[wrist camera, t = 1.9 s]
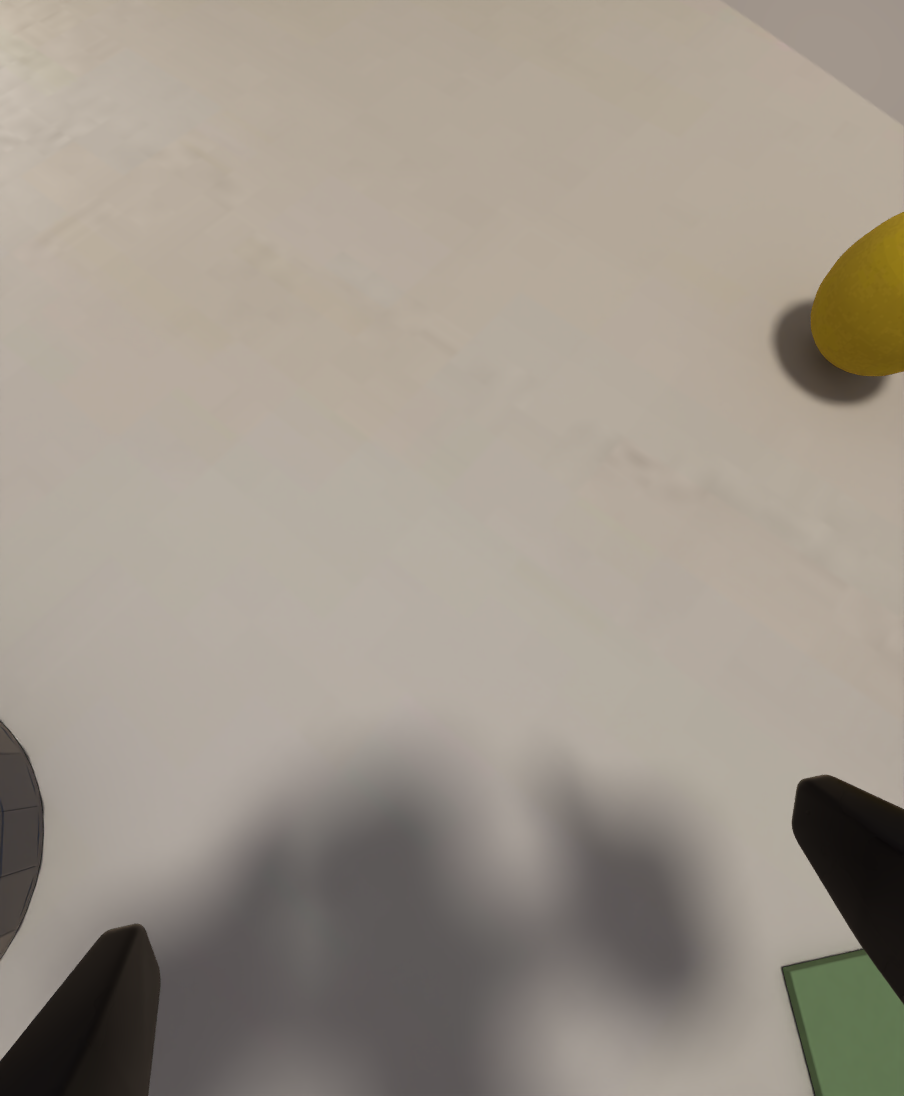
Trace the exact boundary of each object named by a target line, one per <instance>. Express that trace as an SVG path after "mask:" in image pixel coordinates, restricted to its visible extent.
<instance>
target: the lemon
mask: <svg viewBox="0 0 904 1096" xmlns="http://www.w3.org/2000/svg"><path fill="white" fill-rule="evenodd" d="M811 331H812V335H813V338H814V341H815V344H816V345H817V347H818V349H819V351H820V352H821V354H822V355H823V356H824V357H825V358H826V359H827V360H828V361H829V362H830V363H832V364H833V365H834V366H836V367H838V368H840V369H842V370H844V371H846V372H849V373H853V374H857V375H862V376H886V375H890V374H894V373H899V372H903V371H904V212H902V213H900V214H898V215H896V216H894V217H892V218H890V219H888V220H887V221H885V222H883V223H882V224H880V225H879V226H878V227H876V228H875V229H873V230H872V231H870V232H869V233H867V234H866V235H865V236H863V237H862V238H861V239H859V240H858V241H857V242H856V243H854V244H853V245H852V246H851V247H850V248H849V249H848V250H847V251H846V252H845V253H844V254H843V255H842V256H841V257H840V258H839V259H838V260H837V262H836V263H835V264H834V266H833V267H832V268H831V270H830V271H829V273H828V274H827V275H826V277H825V278H824V280H823V282H822V283H821V285H820V287H819V289H818V291H817V294H816V297H815V300H814V303H813V306H812V310H811Z"/></svg>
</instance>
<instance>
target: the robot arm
mask: <svg viewBox="0 0 904 1096" xmlns="http://www.w3.org/2000/svg"><path fill="white" fill-rule="evenodd" d="M792 829H793V833H794V836H795V838H796V840H797V842H798V844H799V845H800V847H801V849H802V850H803V852H804V854H805V855H806V857H807V858H808V860H809V862H810V863H811V865H812V867H813V868H814V870H815V872H816V873H817V875H818V877H819V878H820V880H821V882H822V883H823V885H824V886H825V888H826V890H827V891H828V893H829V895H830V896H831V898H832V900H833V901H834V903H835V905H836V906H837V908H838V910H839V911H840V913H841V914H842V916H843V918H844V919H845V921H846V923H847V924H848V926H849V928H850V929H851V931H852V932H853V934H854V935H855V937H856V938H857V940H858V942H859V943H860V945H861V946H862V948H863V949H864V950H865V952H866V953H867V955H868V956H869V958H870V959H871V960H872V962H873V963H874V965H875V966H876V967H877V969H878V970H879V972H880V973H881V974H882V976H883V977H884V978H885V980H886V981H887V982H888V984H889V985H890V987H891V988H892V989H893V991H894V992H895V993H896V995H897V996H898V998H899V999H900V1000H901V1002H902V1003H903V1004H904V809H902V808H900V807H898V806H896V805H894V804H892V803H889V802H887V801H885V800H883V799H881V798H879V797H876V796H874V795H872V794H870V793H868V792H866V791H864V790H861V789H859V788H857V787H855V786H853V785H851V784H848V783H846V782H844V781H842V780H840V779H838V778H836V777H833V776H830V775H820V776H815V777H810V778H806V779H803V780H801V781H800V782H799V784H798V785H797V790H796V796H795V803H794V809H793V816H792ZM160 980H161V979H160V970H159V966H158V963H157V960H156V957H155V954H154V952H153V949H152V946H151V944H150V941H149V938H148V935H147V933H146V930H145V928H144V927H143V926H142V925H140V924H132V925H128V926H123V927H118V928H114V929H110V930H108V931H106V932H105V933H104V934H103V935H101V936H100V938H99V939H98V940H97V941H96V943H95V944H94V945H93V946H92V947H91V949H90V950H89V951H88V952H87V954H86V955H85V956H84V957H83V959H82V960H81V961H80V962H79V964H78V965H77V966H76V967H75V969H74V970H73V971H72V972H71V974H70V975H69V976H68V977H67V979H66V980H65V981H64V982H63V984H62V985H61V986H60V987H59V989H58V990H57V991H56V992H55V994H54V995H53V996H52V997H51V999H50V1000H49V1001H48V1002H47V1004H46V1005H45V1006H44V1007H43V1009H42V1010H41V1011H40V1012H39V1014H38V1015H37V1016H36V1017H35V1019H34V1020H33V1021H32V1022H31V1024H30V1025H29V1026H28V1027H27V1029H26V1030H25V1031H24V1032H23V1033H22V1035H21V1036H20V1037H19V1038H18V1040H17V1041H16V1042H15V1043H14V1045H13V1046H12V1047H11V1048H10V1050H9V1051H8V1052H7V1053H6V1055H5V1056H4V1057H3V1058H2V1060H1V1061H0V1096H148V1093H149V1084H150V1075H151V1066H152V1057H153V1049H154V1040H155V1031H156V1022H157V1013H158V1004H159V995H160Z"/></svg>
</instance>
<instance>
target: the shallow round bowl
mask: <svg viewBox="0 0 904 1096" xmlns="http://www.w3.org/2000/svg"><path fill="white" fill-rule="evenodd" d="M42 841H43V817H42V806H41V801H40V795H39V789H38V786H37V783H36V780H35V777H34V774H33V771H32V768H31V765H30V763H29V761H28V760H27V758H26V756H25V754H24V752H23V750H22V748H21V746H20V745H19V744H18V742H17V741H16V740H15V738H14V737H13V735H12V734H11V733H10V731H9V730H8V729H7V728H6V727H5V726H4V725H3V724H2V723H1V722H0V959H1V957H2V955H3V954H4V952H5V951H6V949H7V947H8V946H9V944H10V942H11V941H12V939H13V937H14V936H15V933H16V931H17V929H18V927H19V925H20V923H21V921H22V919H23V917H24V914H25V912H26V910H27V907H28V904H29V901H30V898H31V896H32V893H33V890H34V887H35V883H36V879H37V874H38V870H39V865H40V861H41V852H42Z"/></svg>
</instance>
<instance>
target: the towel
mask: <svg viewBox="0 0 904 1096" xmlns="http://www.w3.org/2000/svg"><path fill="white" fill-rule="evenodd" d="M783 973H784V976H785V980H786V984H787V988H788V992H789V996H790V999H791V1003H792V1007H793V1011H794V1015H795V1018H796V1022H797V1026H798V1030H799V1034H800V1038H801V1041H802V1045H803V1049H804V1053H805V1057H806V1061H807V1064H808V1068H809V1072H810V1076H811V1080H812V1084H813V1087H814V1091H815V1095H816V1096H904V1004H903V1003H902V1002H901V1000H900V999H899V998H898V996H897V995H896V993H895V992H894V991H893V989H892V988H891V987H890V985H889V984H888V982H887V981H886V980H885V978H884V977H883V976H882V974H881V973H880V972H879V970H878V969H877V967H876V966H875V965H874V963H873V962H872V960H871V959H870V958H869V956H868V955H867V953H866V952H865V950H859V951H855V952H850V953H846V954H841V955H837V956H832V957H828V958H824V959H819V960H815V961H810V962H806V963H801V964H797V965H792V966H788V967H784V968H783Z"/></svg>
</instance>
